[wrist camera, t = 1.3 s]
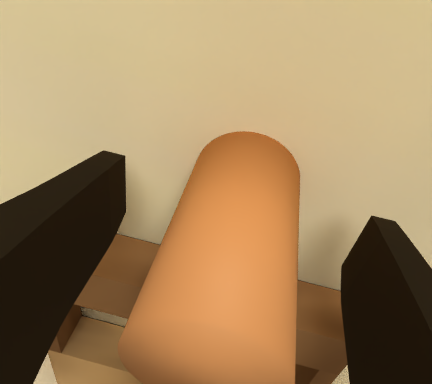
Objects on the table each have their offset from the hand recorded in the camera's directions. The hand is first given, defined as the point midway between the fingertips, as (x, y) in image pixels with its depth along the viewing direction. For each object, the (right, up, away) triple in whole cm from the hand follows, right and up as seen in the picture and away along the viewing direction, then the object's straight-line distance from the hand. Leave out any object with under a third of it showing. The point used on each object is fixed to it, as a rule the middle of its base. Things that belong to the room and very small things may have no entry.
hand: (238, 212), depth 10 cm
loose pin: (0, +1, +1) cm, 2 cm away
